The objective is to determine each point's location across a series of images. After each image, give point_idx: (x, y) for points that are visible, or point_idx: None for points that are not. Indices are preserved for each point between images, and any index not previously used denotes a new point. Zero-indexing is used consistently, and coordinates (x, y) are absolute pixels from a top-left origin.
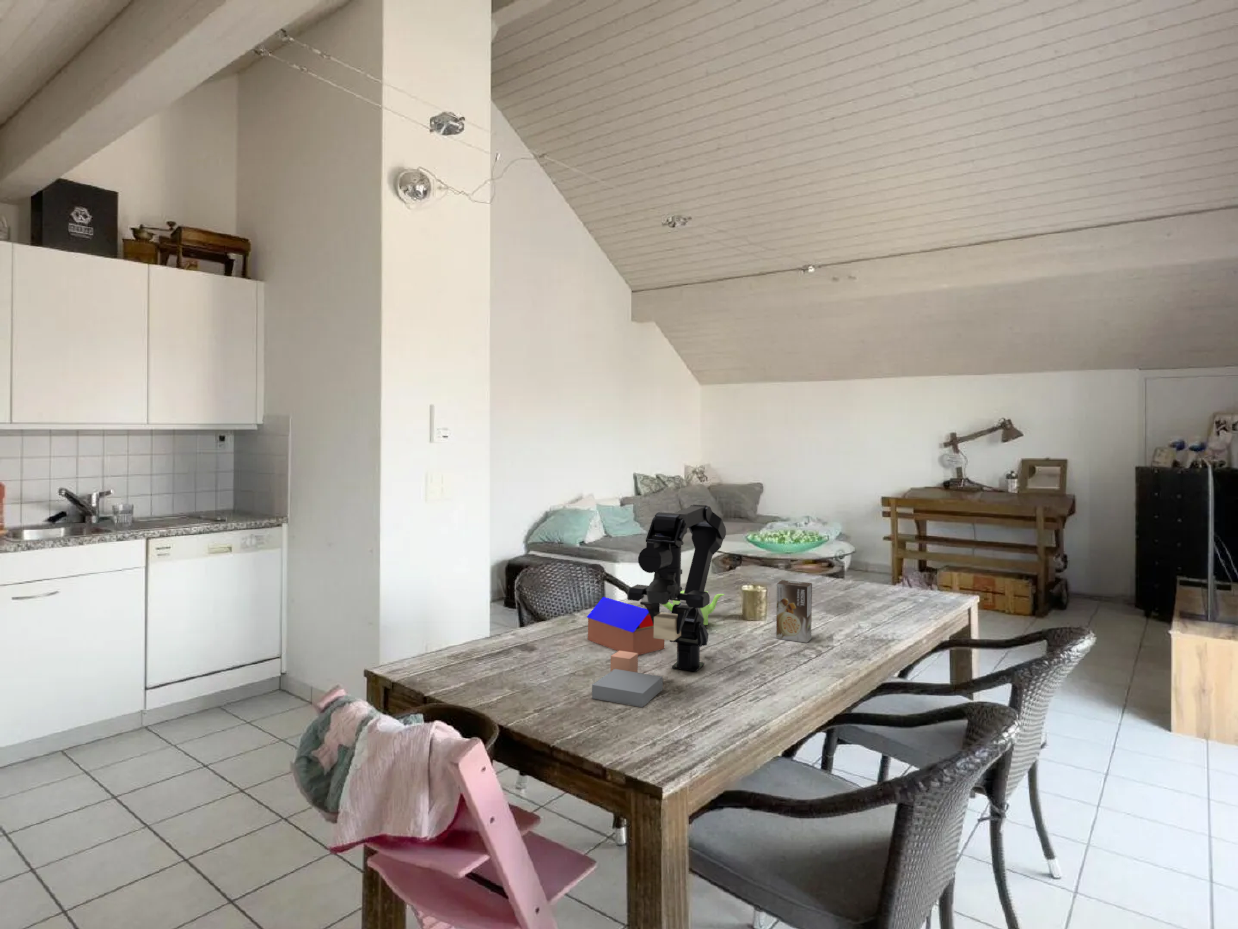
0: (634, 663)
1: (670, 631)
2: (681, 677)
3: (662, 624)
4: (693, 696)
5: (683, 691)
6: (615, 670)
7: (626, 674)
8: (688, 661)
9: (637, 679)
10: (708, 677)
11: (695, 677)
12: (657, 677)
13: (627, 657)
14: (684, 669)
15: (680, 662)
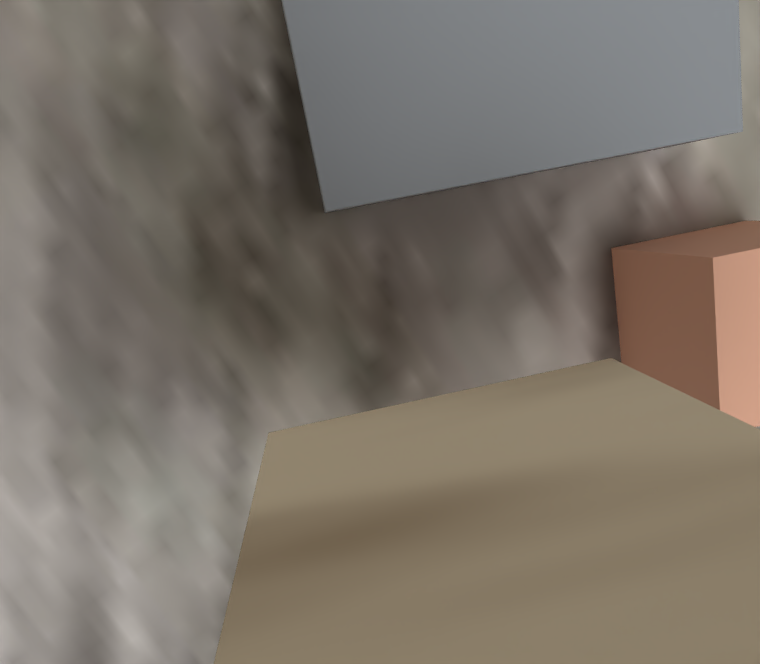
0: (672, 347)
1: (332, 496)
2: None
3: (587, 532)
4: (74, 230)
5: (189, 274)
6: (721, 98)
7: (599, 64)
8: None
9: (458, 4)
10: (211, 597)
11: None
12: (347, 160)
13: (748, 280)
14: None
15: None
